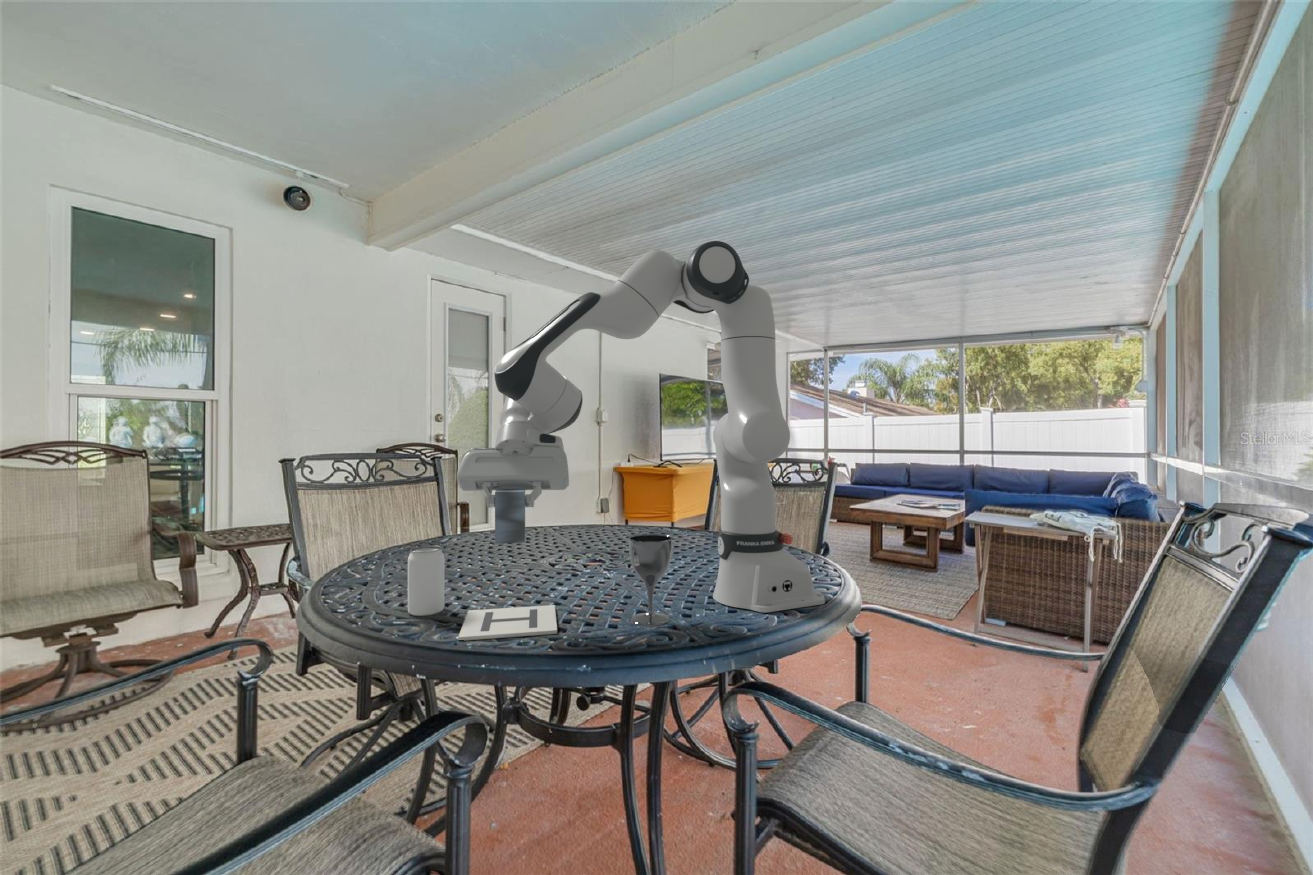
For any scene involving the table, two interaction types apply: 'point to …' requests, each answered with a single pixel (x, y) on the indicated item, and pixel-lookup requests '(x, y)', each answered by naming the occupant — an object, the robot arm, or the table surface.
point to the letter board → (509, 622)
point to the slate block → (509, 516)
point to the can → (425, 581)
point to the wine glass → (650, 569)
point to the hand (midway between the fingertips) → (509, 505)
